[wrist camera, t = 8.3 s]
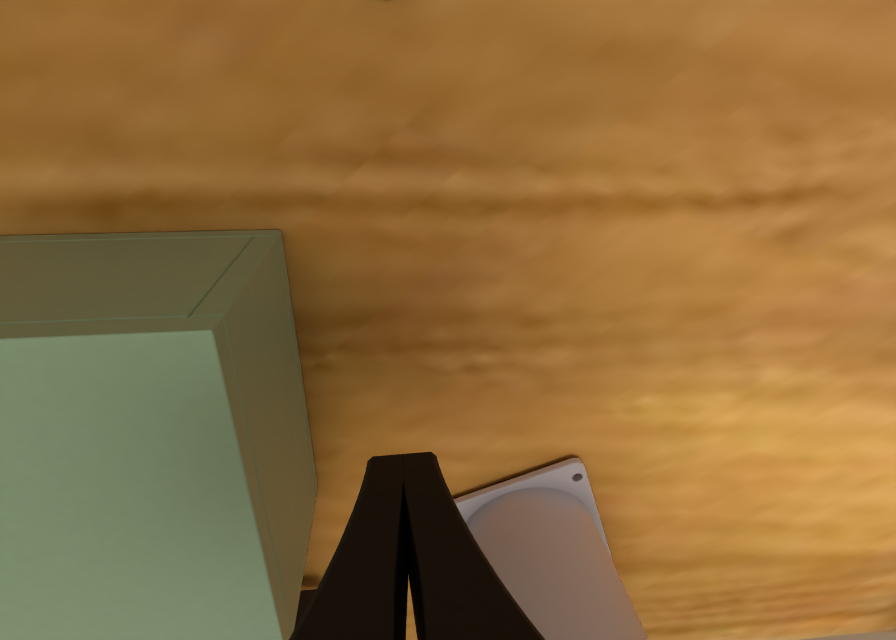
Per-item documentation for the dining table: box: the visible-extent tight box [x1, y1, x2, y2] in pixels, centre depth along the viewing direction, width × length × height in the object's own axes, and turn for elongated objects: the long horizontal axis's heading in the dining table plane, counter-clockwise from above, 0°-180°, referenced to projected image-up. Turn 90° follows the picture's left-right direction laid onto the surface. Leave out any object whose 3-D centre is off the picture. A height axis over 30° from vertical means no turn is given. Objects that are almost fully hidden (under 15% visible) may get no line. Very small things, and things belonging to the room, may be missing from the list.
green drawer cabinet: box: [0, 229, 318, 640], centre depth 17 cm, size 13×12×8 cm
